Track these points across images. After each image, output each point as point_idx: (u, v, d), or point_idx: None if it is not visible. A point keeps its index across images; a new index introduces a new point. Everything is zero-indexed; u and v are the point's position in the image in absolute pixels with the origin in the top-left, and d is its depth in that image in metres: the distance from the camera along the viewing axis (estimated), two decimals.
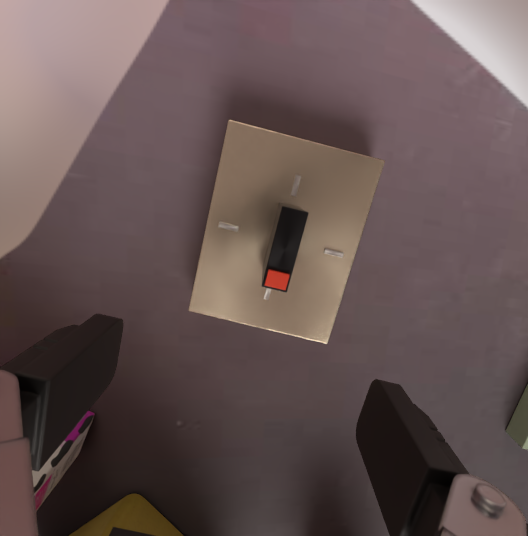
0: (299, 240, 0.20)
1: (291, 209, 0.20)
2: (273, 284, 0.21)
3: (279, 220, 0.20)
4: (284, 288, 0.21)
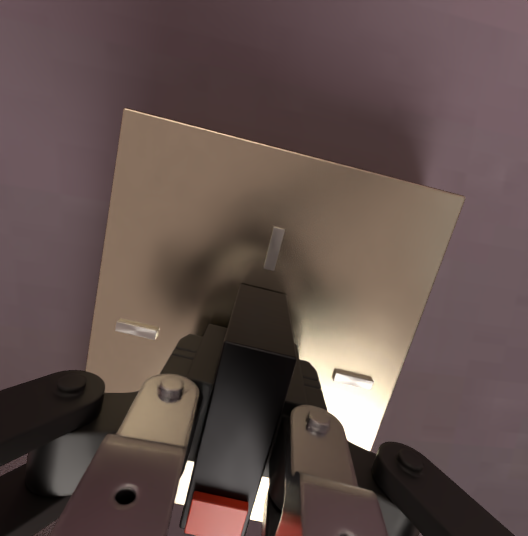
0: (273, 426, 0.08)
1: (249, 350, 0.07)
2: (206, 530, 0.08)
3: (218, 376, 0.07)
4: None
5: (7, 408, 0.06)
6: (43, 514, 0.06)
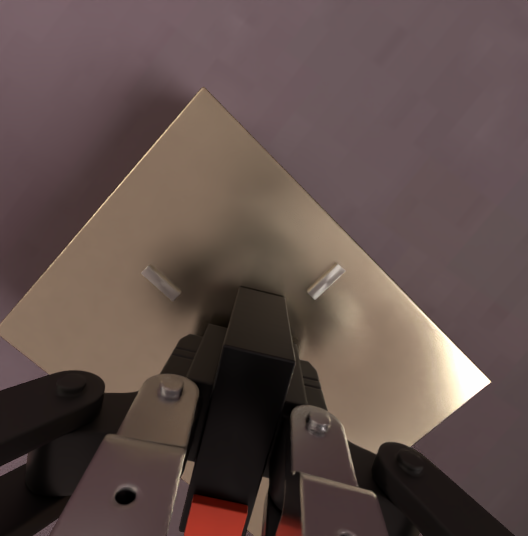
0: (272, 429, 0.08)
1: (248, 354, 0.07)
2: (206, 534, 0.08)
3: (217, 380, 0.07)
4: None
5: (7, 408, 0.06)
6: (43, 514, 0.06)
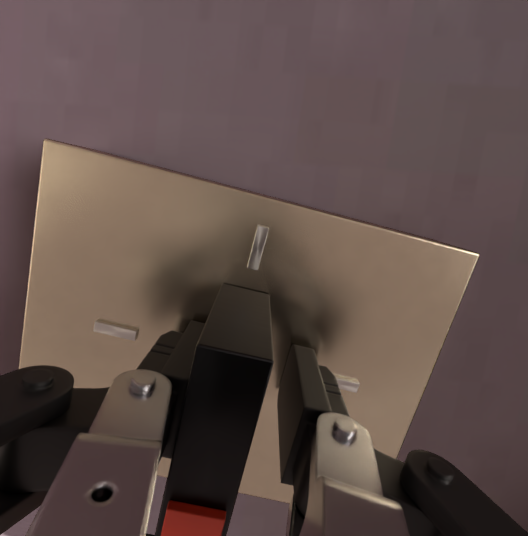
0: (249, 432, 0.07)
1: (223, 354, 0.07)
2: None
3: (191, 381, 0.07)
4: None
5: None
6: (13, 510, 0.06)
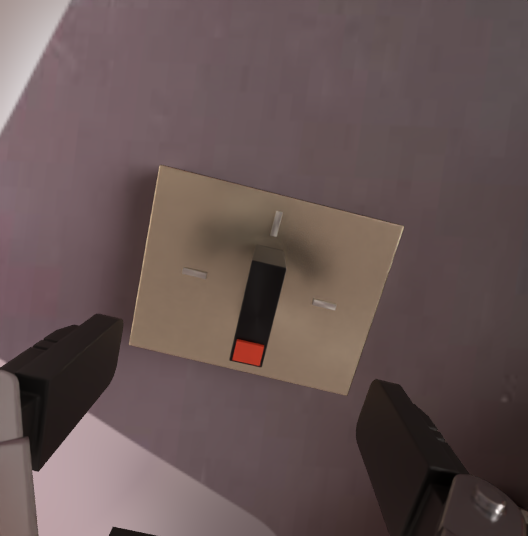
0: (275, 303, 0.16)
1: (264, 264, 0.15)
2: (243, 358, 0.16)
3: (249, 278, 0.15)
4: (257, 363, 0.16)
5: None
6: None
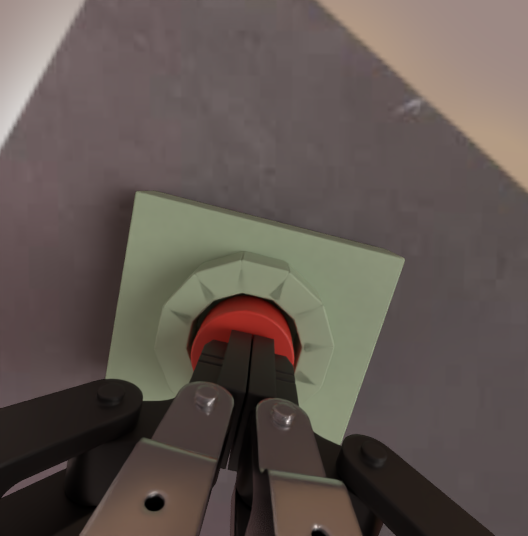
0: None
1: None
2: None
3: None
4: None
5: (49, 414, 0.06)
6: (78, 523, 0.06)
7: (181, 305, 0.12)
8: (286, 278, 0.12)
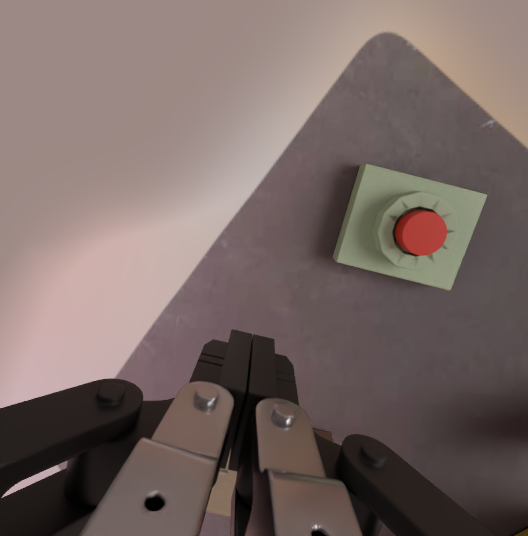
0: None
1: None
2: None
3: None
4: None
5: (49, 414, 0.06)
6: (78, 523, 0.06)
7: (392, 211, 0.29)
8: (439, 199, 0.28)
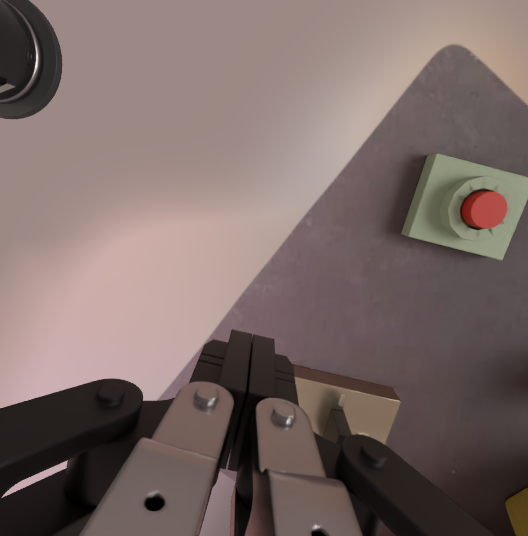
0: None
1: (344, 436, 0.37)
2: None
3: (337, 441, 0.37)
4: None
5: (49, 414, 0.06)
6: (78, 523, 0.06)
7: (461, 192, 0.35)
8: (499, 182, 0.35)
